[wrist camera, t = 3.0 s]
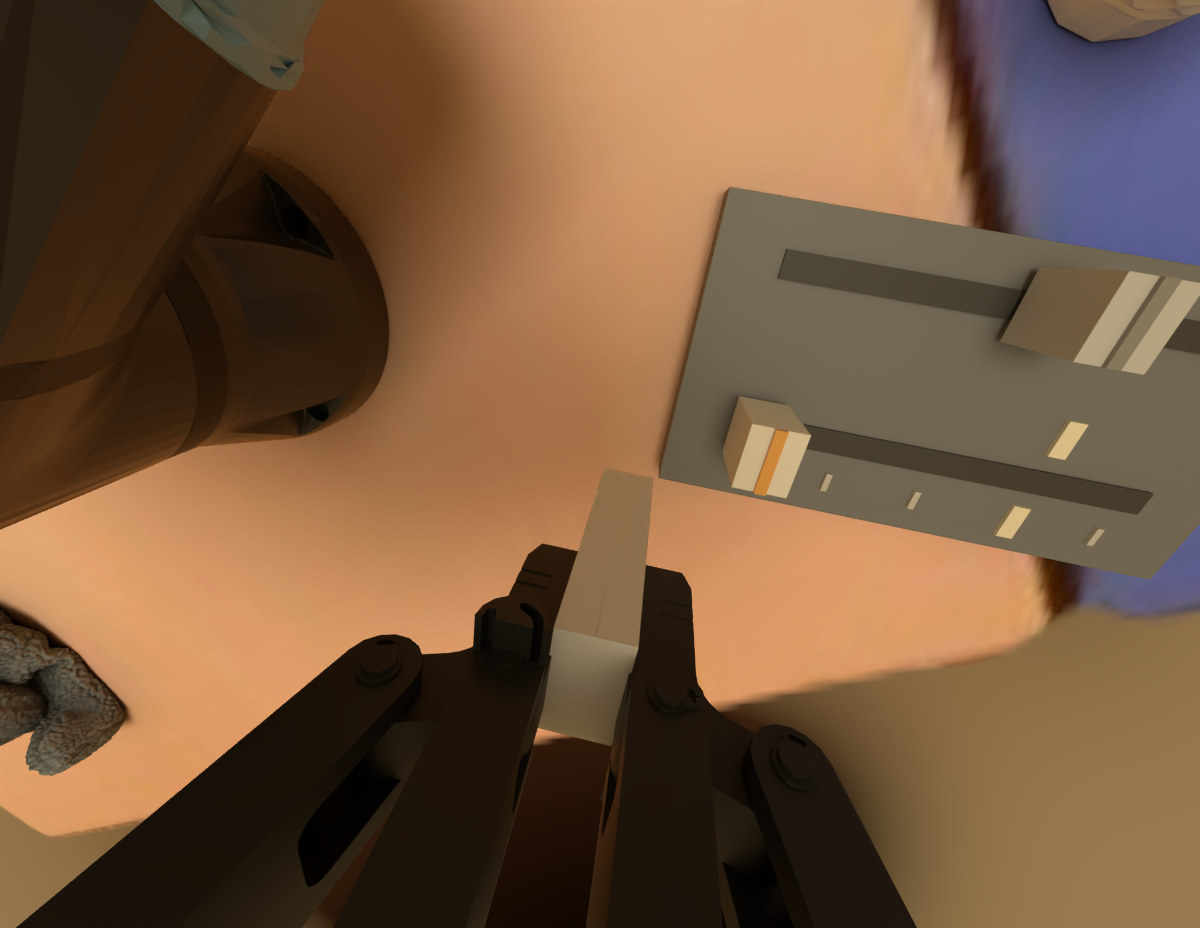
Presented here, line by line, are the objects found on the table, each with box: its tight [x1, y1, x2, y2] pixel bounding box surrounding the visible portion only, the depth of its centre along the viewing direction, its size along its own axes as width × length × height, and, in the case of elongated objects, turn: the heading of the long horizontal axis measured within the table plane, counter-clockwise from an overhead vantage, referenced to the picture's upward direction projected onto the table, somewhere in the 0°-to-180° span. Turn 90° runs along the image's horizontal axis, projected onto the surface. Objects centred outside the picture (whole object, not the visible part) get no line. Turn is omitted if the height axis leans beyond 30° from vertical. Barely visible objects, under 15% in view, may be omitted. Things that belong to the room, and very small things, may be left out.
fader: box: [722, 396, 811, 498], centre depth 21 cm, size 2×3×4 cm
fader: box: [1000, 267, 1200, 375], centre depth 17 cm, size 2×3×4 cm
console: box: [659, 187, 1200, 579], centre depth 22 cm, size 26×14×2 cm, turn 80°
